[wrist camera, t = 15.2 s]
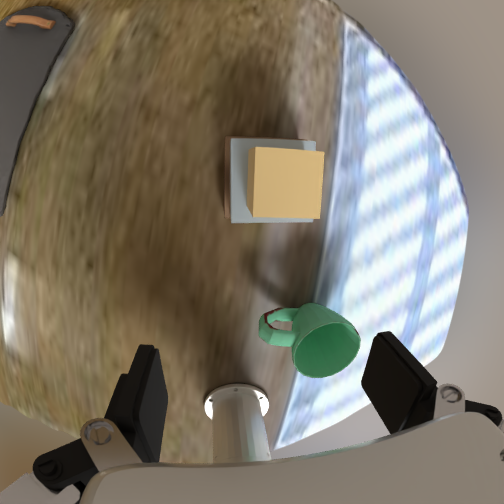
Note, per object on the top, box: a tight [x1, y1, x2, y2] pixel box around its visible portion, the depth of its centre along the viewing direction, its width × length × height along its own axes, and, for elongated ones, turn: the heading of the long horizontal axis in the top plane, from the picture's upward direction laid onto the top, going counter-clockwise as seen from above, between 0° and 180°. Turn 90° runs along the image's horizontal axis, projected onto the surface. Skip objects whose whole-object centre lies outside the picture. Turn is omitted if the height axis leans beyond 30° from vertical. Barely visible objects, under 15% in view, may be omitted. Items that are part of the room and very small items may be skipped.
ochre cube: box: [247, 147, 324, 219], centre depth 27 cm, size 6×6×6 cm
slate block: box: [230, 138, 316, 223], centre depth 32 cm, size 9×9×4 cm
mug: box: [259, 303, 361, 378], centre depth 40 cm, size 15×10×10 cm
